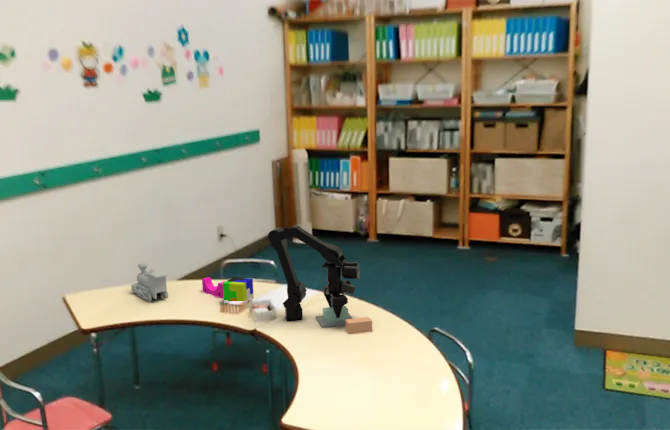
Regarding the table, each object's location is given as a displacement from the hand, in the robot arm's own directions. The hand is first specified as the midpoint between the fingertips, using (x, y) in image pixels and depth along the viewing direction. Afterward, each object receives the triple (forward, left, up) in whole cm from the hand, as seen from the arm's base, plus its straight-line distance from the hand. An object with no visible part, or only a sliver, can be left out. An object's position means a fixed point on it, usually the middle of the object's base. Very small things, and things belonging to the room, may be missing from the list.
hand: (335, 314), depth 258 cm
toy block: (-45, +53, -3) cm, 70 cm away
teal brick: (0, 0, -2) cm, 2 cm away
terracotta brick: (+6, -13, -3) cm, 15 cm away
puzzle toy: (-36, +39, -3) cm, 53 cm away
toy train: (-75, +61, -3) cm, 97 cm away
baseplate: (0, 0, -3) cm, 3 cm away
